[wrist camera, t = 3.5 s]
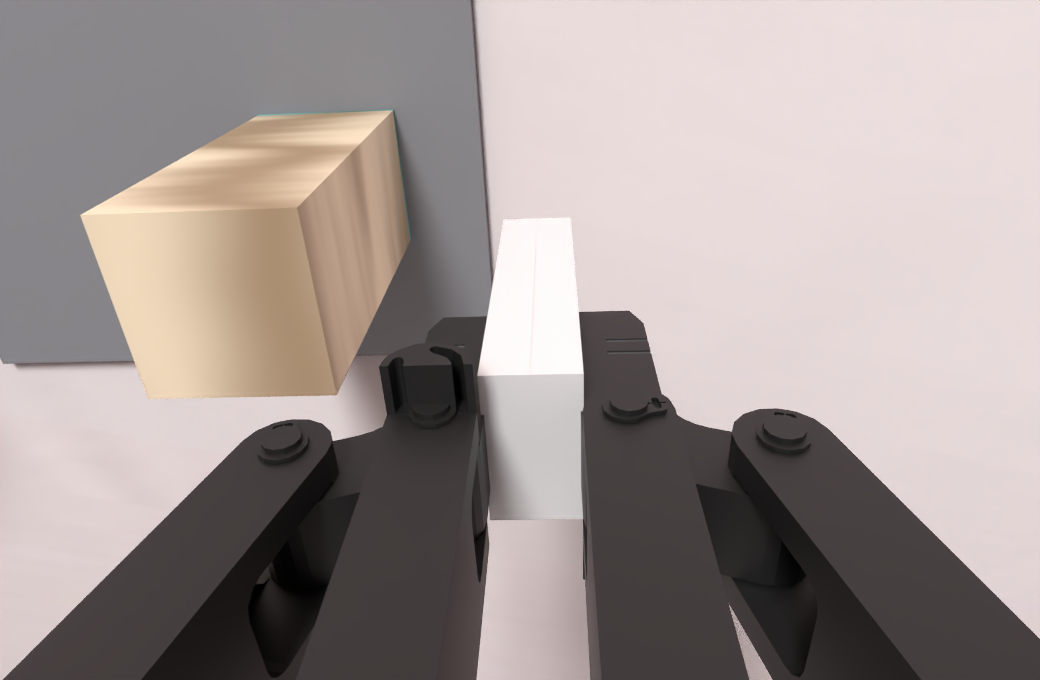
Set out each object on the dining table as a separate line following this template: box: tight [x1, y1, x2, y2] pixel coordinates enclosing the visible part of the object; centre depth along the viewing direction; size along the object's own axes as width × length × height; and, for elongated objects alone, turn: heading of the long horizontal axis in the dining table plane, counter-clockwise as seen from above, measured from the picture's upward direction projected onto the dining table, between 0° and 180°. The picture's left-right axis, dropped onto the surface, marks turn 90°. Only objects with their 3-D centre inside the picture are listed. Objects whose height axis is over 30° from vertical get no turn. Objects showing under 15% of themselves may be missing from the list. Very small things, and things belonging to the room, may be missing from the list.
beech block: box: [80, 109, 411, 399], centre depth 19 cm, size 4×4×10 cm
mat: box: [0, 0, 492, 364], centre depth 23 cm, size 20×18×1 cm
